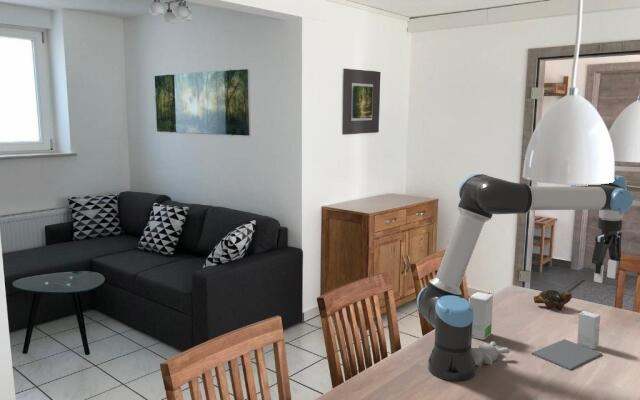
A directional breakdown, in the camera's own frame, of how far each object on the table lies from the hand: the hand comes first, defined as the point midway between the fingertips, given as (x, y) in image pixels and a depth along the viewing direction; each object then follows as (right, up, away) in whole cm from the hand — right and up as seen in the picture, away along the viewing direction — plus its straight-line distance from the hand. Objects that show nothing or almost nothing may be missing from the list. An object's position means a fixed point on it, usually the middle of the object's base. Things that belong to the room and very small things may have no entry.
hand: (604, 279), depth 194 cm
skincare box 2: (-7, -24, -1) cm, 25 cm away
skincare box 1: (-43, -22, +8) cm, 49 cm away
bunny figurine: (-47, -26, -12) cm, 55 cm away
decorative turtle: (-3, -18, +36) cm, 41 cm away
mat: (-17, -25, -8) cm, 31 cm away
